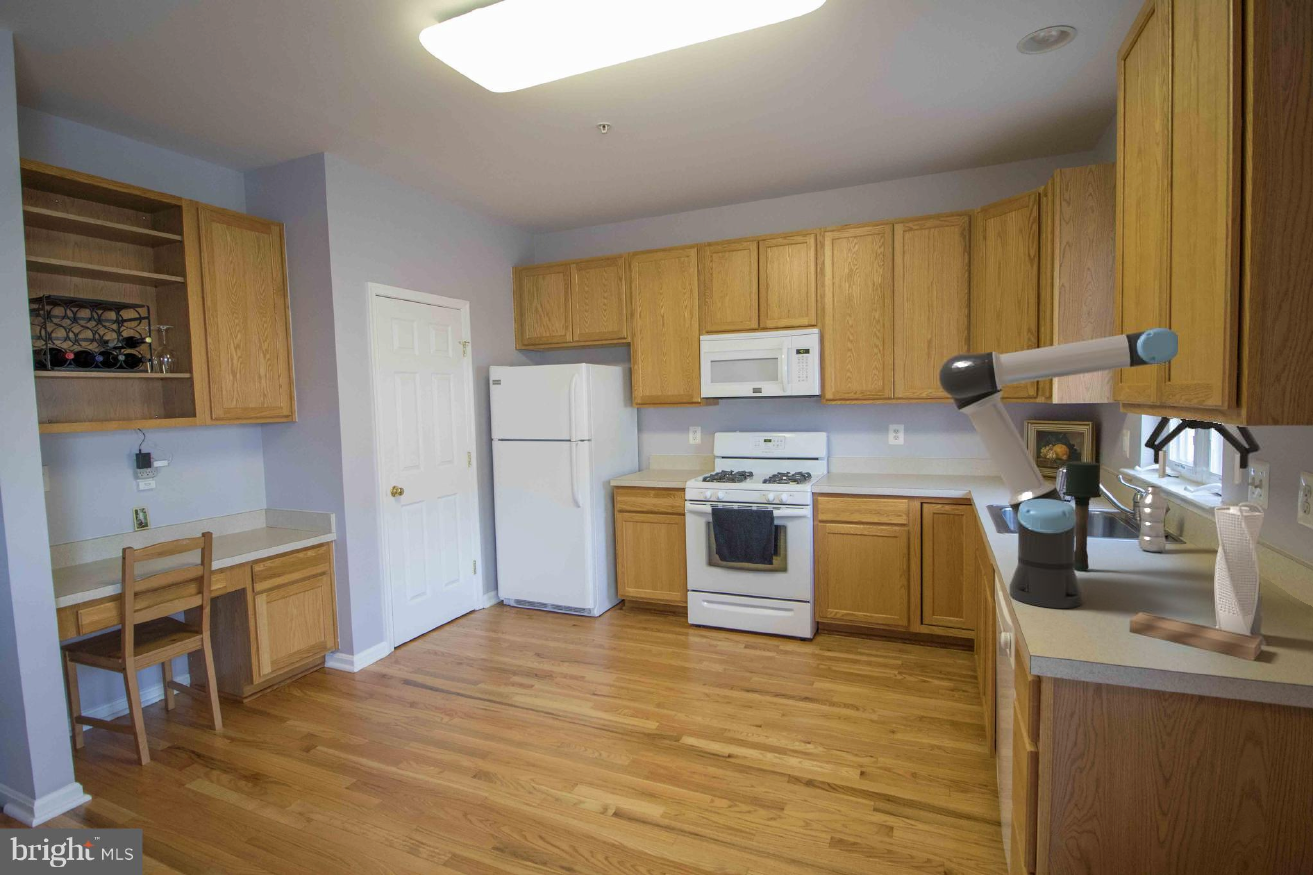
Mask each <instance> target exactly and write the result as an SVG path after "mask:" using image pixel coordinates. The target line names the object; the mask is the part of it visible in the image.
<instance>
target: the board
mask: <svg viewBox="0 0 1313 875" xmlns="http://www.w3.org/2000/svg"><path fill="white" fill-rule="evenodd" d="M1128 630H1129V632H1130V633H1133V634H1138V635H1143V636H1146V637H1151V638H1154V639H1160V640H1164V641H1166V642H1167V641H1168V642H1173V643H1175V644H1176V643H1177V644H1181V645H1183V646H1184V645H1185V646H1189V647H1193V648H1198V649H1203V650H1206V651H1210V652H1215V653H1218V654H1223V655H1228V656H1232V657H1237V658H1241V659H1244V660H1249V661H1255V659H1256V658H1257V657H1258V655H1259V654H1260V653H1261V651H1262V645H1261V640H1262V638H1260V637H1255V636H1251V635H1246V634H1241V633H1236V632H1232V631H1227V630H1222V629H1218V628H1215V627H1213V626H1207V625H1202V624H1197V623H1195V622H1188V621H1183V620H1179V619H1173V618H1170V617H1165V616H1160V615H1156V614H1150V613H1146V612H1141V611H1140V612H1138V613H1137V614H1136V615H1135V616H1133V617H1131V619H1129V628H1128Z"/></svg>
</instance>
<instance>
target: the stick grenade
mask: <svg viewBox="0 0 1313 875" xmlns="http://www.w3.org/2000/svg"><path fill="white" fill-rule="evenodd" d="M1100 484H1101V464H1100V463H1098V462H1090V461H1068V462H1066V463H1065V491H1063V494H1064V496H1067V497H1071V498H1073V499H1074V505H1075V506H1074V509H1075V515H1076V523H1075V555H1074V571H1077V572H1087V571H1088V570H1089V568H1090V565H1089V554H1088V521H1089V516H1090V515H1089V514H1090V513H1089V512H1090V500H1091V499H1096V498H1101V497H1102V493H1101V492H1100V489H1101V487H1100V486H1101V485H1100Z"/></svg>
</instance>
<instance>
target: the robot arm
mask: <svg viewBox="0 0 1313 875" xmlns="http://www.w3.org/2000/svg"><path fill="white" fill-rule="evenodd" d="M1175 332H1176V331H1173V330H1171V329H1168V328H1164V327H1155V328H1151V329H1148V330H1144V331H1137V332H1132V333H1127V334H1120V335H1119V334H1118V335H1114V336H1108V337H1101V338H1093V339H1088V340H1083V341H1076V342H1069V343H1063V344H1058V345H1052V346H1045V347H1039V348H1032V349H1027V350H1020V351H1016V352H1015V351H1014V352H1008V353H1002V354H999V353H998V352H996V351H990V352H982V353H960V354H959V353H958V354H956V355H953V356H951V357H949V358H948V359H947V360H946V361H945V362H944V363H943V364H942V365H941V367H940V369H939V374H938V380H939V385H940V387H941V388H942V390H943V391H944V392H945V393H946V394H947V395H949V396H950V397H951V398H952V401H953V402H954V404H955V407H956V408H957V410H958V412H959V413H963V414H966V415H967V416H968V417H969V419H970V421H971V423H972V425H973V426H974V428H975V430H976V432H977V434H978V436H979V438H980V440H981V443H982V444H983V446H984V448H985V449H986V451H987V453H988V454H989V457H990V458H991V460H992V462H993V464H994V465H995V466H994V467H995V468H996V470H997V471H998V473H999V475H1000V477H1001V478H1002V479H1001V480H1002V481H1003V483H1004V484H1005V486H1006V488H1007V490H1008V492H1009V494H1010V498H1009V500H1008V505H1009V507H1010V509H1011V511H1012V512H1013V514H1014V516H1015V518H1016V520H1017V522H1018V536H1017V541H1018V542H1017V545H1018V546H1017V565H1016V568H1015V570H1014V573H1013V575H1012V577H1011V578H1012V579H1011V581H1010V583H1009V589H1008V590H1009V593H1008V594H1009V596H1010V597H1011V598H1013V599H1014V600H1016V601H1019V602H1021V603H1025V604H1027V605H1031V606H1037V607H1043V608H1051V609H1052V608H1053V609H1072V608H1073V609H1074V608H1076V607H1081V606H1082V605H1083V595H1084V594H1083V592H1082V588H1081V585H1080V583H1079V581H1078V578H1077V574H1076V570H1075V569H1074V555H1075V540H1076V515H1075V507H1074V506H1073V505H1072V504H1070V503H1067V502H1065V501H1064V499H1063V498H1062V496H1061V495H1060V492H1059V490H1058V488H1057V486H1055V485H1054V484H1052V483H1049V482H1046V481H1045V479H1044V477H1043V475H1042V473H1041V471H1040V470H1039V468H1038V466H1037V464H1036V463H1035V460H1034V459H1033V457H1032V456H1031V454H1030V452H1029V450H1028V449H1027V447H1026V445H1025V443H1024V441H1023V439H1022V437H1021V436H1020V434H1019V432H1018V430H1017V428H1016V426H1015V424H1014V423H1013V421H1012V419H1011V417H1010V415H1009V414H1008V412H1007V410H1006V408H1005V406H1004V405H1003V402H1002V401H1001V398H1002V396H1003V389H1002V387H1004V386H1007V385H1015V384H1019V383H1020V384H1021V383H1028V382H1036V381H1041V380H1042V381H1043V380H1049V379H1056V378H1057V379H1058V378H1063V377H1070V376H1077V375H1083V374H1091V373H1099V372H1106V371H1111V370H1120V369H1127V368H1136V367H1143V366H1154V365H1153V364H1160V365H1162V364H1161V363H1166V362H1169V361H1170V360H1172V358H1174V357H1175V356H1176V355H1177V353H1178V335H1177V334H1176V333H1175ZM1173 419H1174V418H1167V417H1162V416H1161V419H1160V420H1159V421H1158V423H1157V425H1156V426H1155V428H1154V429H1153V431H1152V432H1151V434H1150V435H1149V437H1147V440H1146V442H1145V443H1144V447H1145V448H1148V449H1151V450H1153V463H1154V464H1156V465H1158V476H1157V478H1158V479H1165V478H1167V477H1166V476H1167V474H1166V473H1167V450H1163V449H1164V448H1165V447H1166V446H1167V445H1169V444H1170V443H1171V442H1172V441H1173V440H1174V439H1175V438H1177V437H1178V436H1179V435H1180V434H1181V433H1183V431H1185V430H1186V429H1187V428H1188V429H1190V430H1198V429H1201V430H1211V429H1214V431H1215V432H1217V433H1218V434H1219V435H1221V437H1222V438H1224V439H1225V441H1226V442H1228V443H1229V444H1230V446H1232V448H1234V449H1235V450H1236V451H1237V452H1238V453H1236V454H1234V473H1233V474H1234V475H1233V476H1234V477H1233V484H1236V485H1237V484H1238V485H1239V484H1242V470H1243V469H1244V470H1247V469H1248V467H1249V460H1250V459H1249V455H1250V454H1253V453H1257V452H1259V451H1260V450H1261V447H1260V445H1259V443H1258V442H1257V440H1256V439H1255V437H1254V436H1253V434H1252V432H1251V431H1250V430H1249V428H1248V426H1247V427H1239V426H1236V425H1235V427H1236V429H1237V431H1238V433H1240V435H1241V437H1242V439H1243V440H1244V441H1245V444H1247V446H1245V445H1244V443H1242V442H1241V441H1240V440H1239V439H1238V438H1237V437H1236V435H1233V433H1231V432H1230V431H1229V429H1228V428H1226V426H1225V425H1224V424H1223V423H1221V424H1218V423H1213V422H1204V421H1197V420H1186V419H1179V420H1180V421H1181V422H1180V423H1179V424H1178V425H1176V427H1175V428H1174V429H1172V430H1171V431H1170V432H1169V433H1168V434H1166V435H1165V437H1163V438H1162V439H1161V440H1160V441H1159V442H1158V443H1157V441H1158V440H1159V438H1160V436H1161V435H1162V433H1163V432H1164V430H1165V428H1166V427H1167V426H1168V424H1169V422H1170V420H1173Z"/></svg>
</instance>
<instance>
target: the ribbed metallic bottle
mask: <svg viewBox="0 0 1313 875" xmlns="http://www.w3.org/2000/svg"><path fill="white" fill-rule="evenodd" d="M1144 492H1145V493H1146V494H1144V495H1143V497H1142V498H1141V499H1140V500H1139V504H1138V505H1139V510H1140V511H1139V512H1140V520H1141V524H1140V525H1141V526H1140V532H1139V533H1140V534H1139V537H1138V541H1137V542H1138V546H1139V548H1140V549H1141V550H1143V551H1147V552H1150V553H1160V552H1164V551H1165V549H1166V546H1167V542H1166V537H1165V526H1164V525H1165V523H1164V522H1165V516H1166V512H1167V511H1166V510H1167V507H1168V506H1167V505H1168V504H1167V502H1166V500H1165V499H1164V497H1163V496H1162V495H1161V494H1162V493H1163V492H1162V486H1158V485H1157V486H1156V485H1146V486H1145V490H1144Z"/></svg>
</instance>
